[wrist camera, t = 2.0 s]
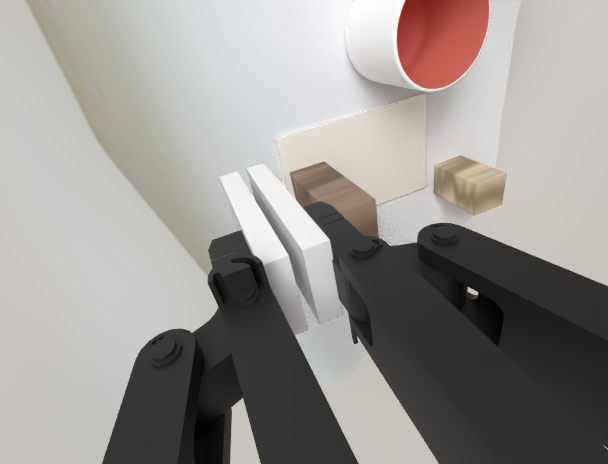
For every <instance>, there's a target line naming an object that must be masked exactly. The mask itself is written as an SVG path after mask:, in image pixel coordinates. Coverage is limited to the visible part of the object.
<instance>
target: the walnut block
mask: <svg viewBox="0 0 608 464" xmlns="http://www.w3.org/2000/svg"><path fill="white" fill-rule="evenodd" d="M289 173H290V177H291V181H292V186H293V190H294V195H295V199H296V201H297V202H298V203H299V204H300V206H301V207H305V206H307V205H310V204H313V203H316V202H319V201H321V202H324V203H327V204H330V205H332V206H333V207H334V208H335V209H336V210H337V211H338V212H339V213H340V214H342V215H343V216H344V218H345V219H347V220H348V221H349V222H350V223H351V224H352V225H353V226H354V227H355V228H356V229H357V230H358V231H359V232H360V233H361V234H362V235H364V236H373V237H377V238H379V236H378V224H377V212H376V199H375V198H373V197H372V196H370V195H369V194H368V193H366V192H365V191H364V190H362V189H361V188H360V187H358V186H357V185H356V184H354V183H353V182H351V181H350V180H349V179H347V178H346V177H345V176H343V175H342V174H341V173H339V172H338V171H337V170H335V169H334V168H332V167H331V166H330V165H328V164H327V163H326V162H324V161H322V162H319V163H316V164H313V165H310V166H307V167H304V168H301V169H298V170H295V171H292V172H289Z"/></svg>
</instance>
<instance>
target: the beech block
mask: <svg viewBox="0 0 608 464" xmlns="http://www.w3.org/2000/svg"><path fill="white" fill-rule="evenodd" d="M505 180H506V173H504V172H502V171H499V170H496V169H494V168H491V167H489V166H486V165H484V164H481V163H478V162H476V161H473V160H471V159H468V158H466V157H463V156H458V157H455V158H452V159H450V160H447V161H444V162H441V163H438V164H436V165H434V193H435V194H437V195H438V196H440V197H442V198H444V199H446V200H447V201H449V202H451V203H453V204H454V205H456V206H458V207H460V208H462V209H463V210H465V211H467V212H469V213H470V214H472V215H477V214H479V213H482V212H484V211H487V210H489V209H491V208H494V207H497V206H499V205H502V200H503V193H504V187H505Z"/></svg>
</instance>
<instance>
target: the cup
mask: <svg viewBox="0 0 608 464" xmlns="http://www.w3.org/2000/svg"><path fill="white" fill-rule="evenodd" d="M490 19H491V0H354V1H353V3H352V5H351V7H350V10H349V13H348V16H347V21H346V28H345V42H346V48H347V52H348V55H349V58H350V60H351V62H352V64H353V66H354V67H355V68H356V70H357V71H358V72H359V73H360V74H361V75H363V76H364V77H365V78H367V79H369V80H371V81H374V82H378V83H383V84H388V85H393V86H398V87H403V88H408V89H413V90H418V91H423V92H437V91H442V90H444V89H447V88H449V87H451V86H452V85H454V84H455V83H457V82H458V81H459V80H460V79H462V78H463V77H464V76H465V75H466V74H467V72H468V71H469V70H470V69H471V68H472V66H473V65H474V63H475V62H476V60H477V59H478V57H479V55H480V53H481V51H482V49H483V46H484V44H485V41H486V38H487V34H488V31H489V26H490Z"/></svg>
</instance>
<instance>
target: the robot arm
mask: <svg viewBox="0 0 608 464" xmlns="http://www.w3.org/2000/svg"><path fill="white" fill-rule="evenodd" d="M246 170H247V173H248V177H249V180H250V183H251V187H252V190H253V193H254V197H255V199H254V197H253V196H252V194H251V193H250V191H249V189H248V188H247V186H246V184H245V183H244V181H243V179H242V178H241V176H240V174H239V173H238V171H236V172H233V173H230V174H227V175H224V176H220V177H219V178H220V181H221V183H222V186H223V189H224V192H225V195H226V198H227V201H228V203H229V206H230V209H231V212H232V215H233V218H234V221H235V223H236V226H237V229H238V231H237V232H234V233H231V234H229V235H226V236H223V237H220V238H217V239H214V240H212V243H211V245H210V248H209V250H208V251H209V255H210V259H211V263H212V267H213V269H212V270H211V272H210V274H209V275H208V285H209V287H210V289H211V291H212V293H213V296H214V298H215V300H216V302H217V304H218V307H219V308H218V310H217V311H216V313H215V315H214V316H213V317H212V318H211V319H210V320H209V321H208V322H207V323H205V324H204V325H203V326H202V327H200V328H199V329H197V330H196V331H194V332H193V333H191V332H190V331H188V330H185V329H172V330H169V331H166V332H163V333H161V334H159V335H157V336H156V337H154V338H153V339H152V340H150V341H149V342H148V343H147V344H146V345H145V346H144V347H143V348H142V349H141V351H140V353H139V354H138V357H137V358H136V361H135V364H134V366H133V369H132V373H131V376H130V379H129V382H128V385H127V388H126V391H125V395H124V398H123V401H122V404H121V407H120V410H119V413H118V416H117V419H116V423H115V426H114V428H113V432H112V435H111V438H110V441H109V444H108V447H107V451H106V453H105V456H104V460H103V463H102V464H230V447H231V445H230V444H231V418H232V410H231V407H232V406H233V405H235V404H236V403H237V402H238V401H239V400H241V398H243V399H244V403H245V406H246V410H247V413H248V418H249V421H250V425H251V429H252V432H253V436H254V440H255V443H256V447H257V451H258V454H259V458H260V462H261V464H358V462H357V460H356V458H355V456H354V454H353V452H352V450H351V448H350V446H349V444H348V442H347V440H346V438H345V436H344V434H343V432H342V430H341V428H340V426H339V424H338V422H337V420H336V418H335V416H334V414H333V412H332V410H331V408H330V405H329V403H328V401H327V400H326V397H325V395H324V394H323V392H322V389H321V388H320V385H319V384H318V381H317V379H316V377H315V375H314V373H313V371H312V369H311V367H310V365H309V363H308V361H307V359H306V357H305V355H304V353H303V351H302V349H301V347H300V345H299V343H298V341H297V339H296V337H295V335H296V334H299V333H301V332H303V331H306V330H308V326H307V322H306V319H305V315H304V311H303V307H302V303H301V300H300V296H299V292H298V288H297V285H298V287H299V289H300V291H301V292H302V294H303V296H304V298H305V299H306V301H307V303H308V305H309V306H310V308H311V310H312V312H313V313H314V315H315V317H316V319H317V320H318V322H319V324H322V323H324V322H326V321H329V320H331V319H333V318H336V317H338V316H340V315H343V311H342V306H341V302H342V304H343V305H344V307H345V308H346V310H347V311H348V315H349V321H350V327H351V333H352V339H353V342H354V344H356V343H358V340H357V336H358V338H359V339H360V341H361V342H362V344H363V345H364V347H365V349H366V350H367V352H368V353H369V355H370V356H371V358H372V359H373V361H374V363H375V364H376V366H377V367H378V369H379V370H380V372H381V373H382V375H383V377H384V378H385V380H386V381H387V383H388V384H389V386H390V388H391V389H392V391H393V392H394V394H395V395H396V397H397V398H398V400H399V402H400V403H401V405H402V406H403V408H404V409H405V411H406V413H407V414H408V416H409V417H410V419H411V420H412V422H413V424H414V425H415V426H416V428H417V430H418V431H419V433H420V434H421V436H422V438H423V439H424V441H425V442H426V444H427V445H428V447H429V449H430V450H431V452H432V453H433V455H434V456H435V458H436V459H437V461H438V463H439V464H608V450H607V449H606V448H605V447H607V448H608V286H606V285H603V284H601V283H599V282H596V281H594V280H591V279H589V278H586V277H584V276H582V275H579V274H576V273H574V272H572V271H569V270H567V269H564V268H562V267H560V266H557V265H554V264H552V263H550V262H547V261H545V260H542V259H540V258H537V257H535V256H533V255H530V254H528V253H525V252H523V251H520V250H518V249H516V248H513V247H511V246H508V245H506V244H503V243H501V242H499V241H496V240H494V239H491V238H489V237H486V236H484V235H481V234H479V233H477V232H474V231H472V230H469V229H466V228H465V227H462V226H459V225H455V224H452V223H437V224H431V225H429V226H426V227H424V228H423V229H422V230H421V231H420V232H419V233H418V237H417V243H410V244H404V245H397V246H389V245H388V244H387V243H386V242H385V241H383V240H382V239H380V238H377V237H373V236H364V235H362V234H361V233H360V232H359V231H358V230H357V229H356V228H355V227H354V226H353V225H352V224H351V223H350V222H349V221H348V220H347V219H345V218H344V216H343V215H342V214H340V213H339V212H338V211H337V210H336V209H335V208H334V207H333V206H332V205H330V204H327V203H324V202H321V201H319V202H316V203H313V204H310V205H307V206H305V207H301V206H300V204H299V203H298V202H297V201H296V200H295V199H294V197H293V196H292V195H291V194H290V193H289V192H288V190H287V189H286V188H285V187H284V186H283V185H282V184H281V182H280V181H279V180H278V179H277V178H276V177H275V175H274V174H273V173H272V172H271V171H270V170H269V168H268V167H267V166H266V165H265V164H264V163H262V164H258V165H255V166H252V167H249V168H246ZM255 200H256V201H255ZM296 284H297V285H296ZM468 287H470V288H472V289H474V290H475V291H477V292H479V293H478V295H473V294H470V293H469V292H467V290H468ZM603 445H604V446H605V447H604V446H603Z"/></svg>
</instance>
